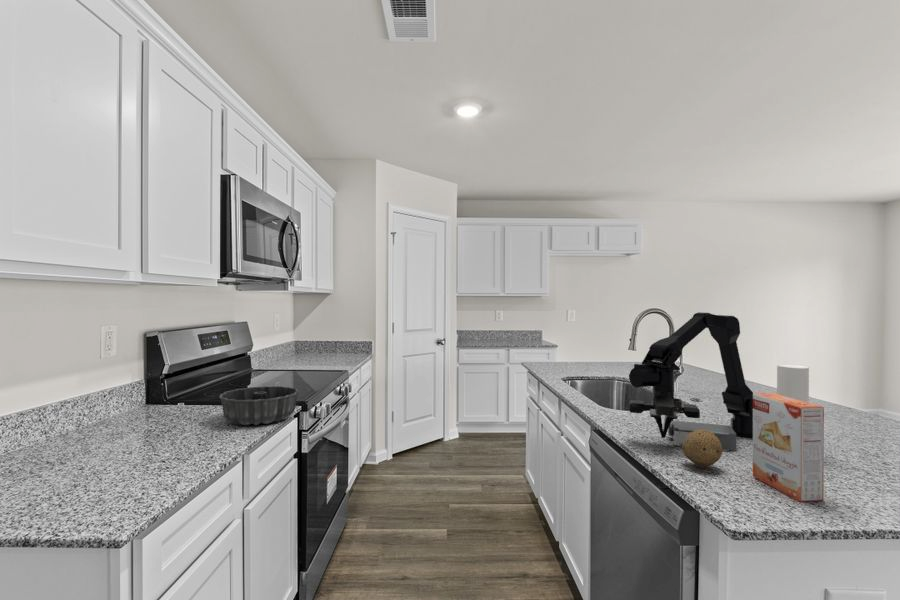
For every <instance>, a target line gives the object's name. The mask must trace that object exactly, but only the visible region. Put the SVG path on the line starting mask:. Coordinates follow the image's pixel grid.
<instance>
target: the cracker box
mask: <svg viewBox="0 0 900 600" xmlns="http://www.w3.org/2000/svg"><path fill="white" fill-rule="evenodd" d="M824 424H825V407H824V406H822V405H818V404H814V403H812V402H809V403H808V402H804V401H800V400H797V399H793V398H790V397H786V396H783V395H779V394H777V393H775V392H756V393H755V392H754V393H753V437H752V477H753V478H755V479H757V480H759V481H761V482H762V483H765V484H767V485H768V486H770V487H772V488H774V489H776V490H778V491H780V493H783V494H785V495H787V496H789V497H791V498H793V499H794V500H796V501H798V502H800V503H802V502H803V503H804V502H818V501H819V502H820V501H824V495H825V494H824V486H825V485H824V480H825V479H824V478H825V477H824V475H825V474H824V473H825V472H824V471H825V469H824V468H825V467H824V463H825V462H824V461H825V459H824V456H825V452H824V451H825V449H824V447H825V446H824V445H825V435H824V434H825V425H824Z"/></svg>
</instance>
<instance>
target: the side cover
mask: <svg viewBox="0 0 900 600" xmlns="http://www.w3.org/2000/svg"><path fill="white" fill-rule="evenodd" d="M690 433H691V432H687V431H674V441H673V444H674V446H678V445H679V444H683V443H684V442H685V440H686V438H687V436H688V435H689V434H690Z"/></svg>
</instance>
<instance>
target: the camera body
mask: <svg viewBox="0 0 900 600" xmlns="http://www.w3.org/2000/svg"><path fill="white" fill-rule="evenodd" d="M698 429H703V430H707V431H710V432H712V433H713V434H714V435H715V436H716V437H717V438H718V439H719V441H720V443H721V445H722V452H727V451H728V452H730V451H729V450H731V451H732V452H737V436H736V433H735V432H734V430H733V429H732V428H731V425H728V424H727V425H726V424H715V423H703V422H695V421H694V422H692V421H684V420H683V421H681V420H673V421H672V422H671V424H670V426H669V428H668V431H667V433H668V437H672V440H673V442H674V431H687V432H693V431H695V430H698ZM677 446H678V447H682V446H683V444H679V445H677Z"/></svg>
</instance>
